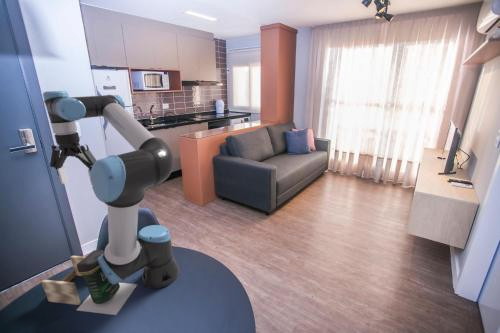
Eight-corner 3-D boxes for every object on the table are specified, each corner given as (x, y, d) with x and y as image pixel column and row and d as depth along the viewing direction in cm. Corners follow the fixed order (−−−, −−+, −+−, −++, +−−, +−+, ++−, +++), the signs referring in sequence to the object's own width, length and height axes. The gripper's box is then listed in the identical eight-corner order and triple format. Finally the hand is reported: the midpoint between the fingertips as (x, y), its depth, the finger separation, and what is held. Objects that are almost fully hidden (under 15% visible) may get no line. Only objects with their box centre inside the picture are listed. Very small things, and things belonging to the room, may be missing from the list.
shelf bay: (104, 276, 108) (99, 257, 104) (78, 304, 94) (72, 284, 91) (75, 273, 110) (69, 255, 106) (46, 301, 96) (38, 281, 93)
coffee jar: (107, 304, 92) (87, 263, 86) (90, 305, 93) (69, 265, 88) (124, 284, 101) (106, 246, 95) (108, 285, 102) (90, 248, 97)
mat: (137, 284, 103) (137, 284, 103) (116, 315, 90) (115, 314, 90) (102, 281, 105) (102, 281, 105) (76, 310, 92) (76, 309, 92)
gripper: (102, 131, 97) (113, 180, 104) (46, 130, 100) (60, 178, 107) (88, 135, 90) (100, 188, 97) (28, 134, 93) (44, 185, 100)
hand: (79, 183), depth 102 cm, fingers open, 13 cm apart
